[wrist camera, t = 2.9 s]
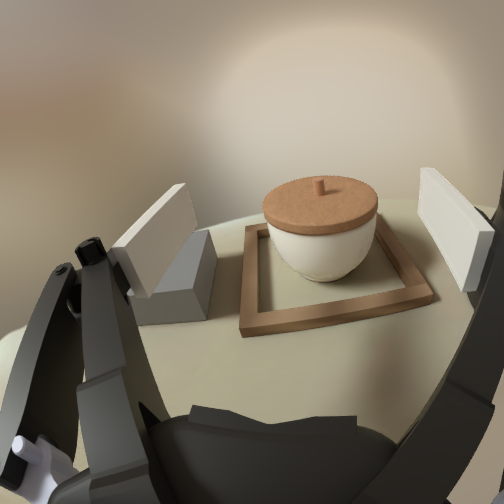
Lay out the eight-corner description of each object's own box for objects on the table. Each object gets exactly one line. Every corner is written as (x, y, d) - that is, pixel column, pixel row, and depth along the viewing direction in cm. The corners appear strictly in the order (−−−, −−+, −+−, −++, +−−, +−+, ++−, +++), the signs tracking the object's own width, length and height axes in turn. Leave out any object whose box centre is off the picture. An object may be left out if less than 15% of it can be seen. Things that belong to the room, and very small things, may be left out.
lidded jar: (385, 246, 30) (388, 166, 24) (354, 312, 23) (356, 214, 18) (303, 229, 36) (294, 158, 31) (254, 281, 29) (234, 197, 24)
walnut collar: (372, 215, 35) (373, 207, 35) (430, 303, 21) (433, 294, 21) (247, 234, 37) (245, 226, 37) (242, 337, 23) (239, 328, 23)
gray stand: (217, 258, 34) (208, 229, 32) (206, 320, 26) (192, 288, 24) (144, 269, 35) (132, 243, 33) (118, 326, 27) (100, 298, 25)
